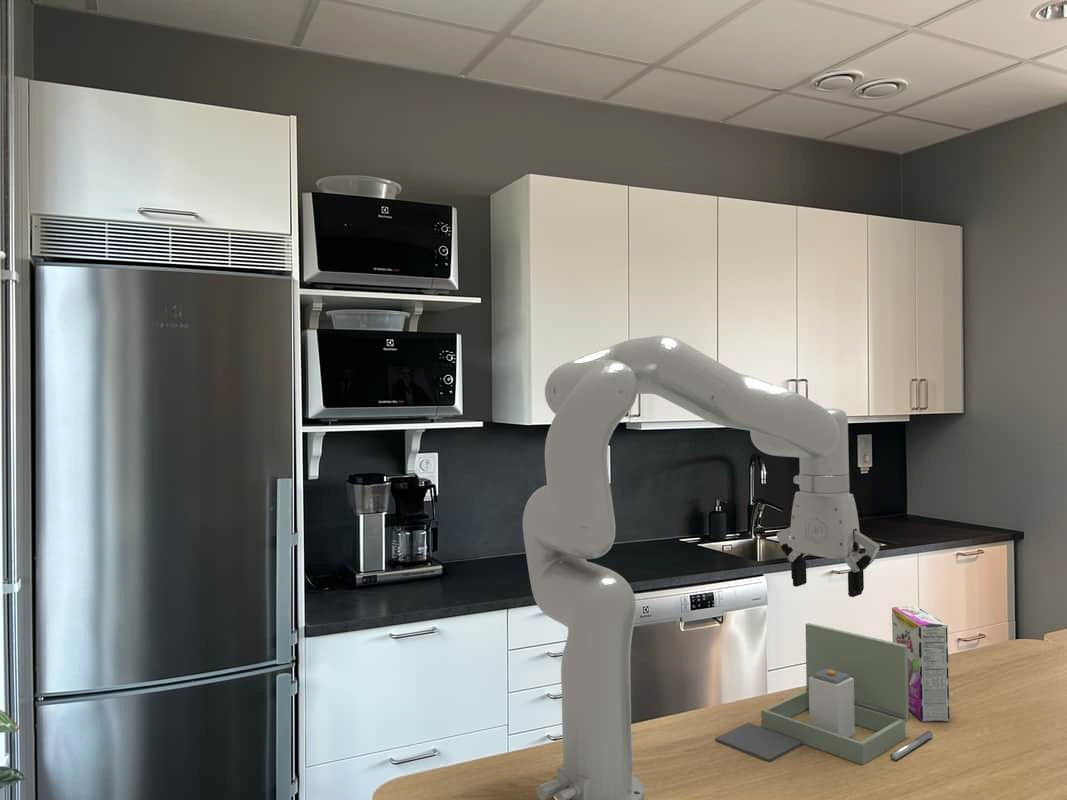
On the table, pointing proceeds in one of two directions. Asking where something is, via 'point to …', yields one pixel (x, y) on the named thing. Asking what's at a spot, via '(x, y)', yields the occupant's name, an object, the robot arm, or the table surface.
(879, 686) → the case
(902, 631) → the candy bar box
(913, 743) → the rod
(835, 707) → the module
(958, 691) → the table surface
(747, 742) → the mat
